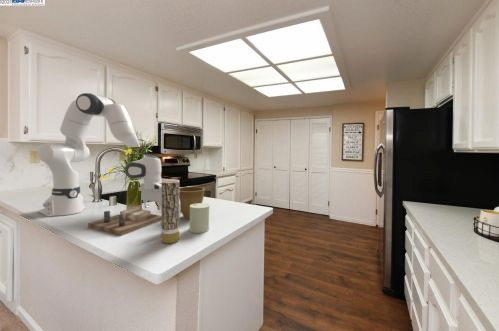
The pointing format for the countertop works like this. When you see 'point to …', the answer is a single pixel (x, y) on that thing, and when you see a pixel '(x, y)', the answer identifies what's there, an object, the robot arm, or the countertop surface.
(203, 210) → the can
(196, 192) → the plant pot
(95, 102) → the robot arm
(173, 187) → the grey patterned cylinder
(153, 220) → the board
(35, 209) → the countertop surface
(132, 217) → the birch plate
